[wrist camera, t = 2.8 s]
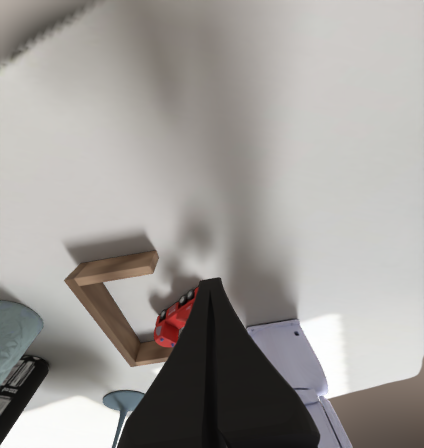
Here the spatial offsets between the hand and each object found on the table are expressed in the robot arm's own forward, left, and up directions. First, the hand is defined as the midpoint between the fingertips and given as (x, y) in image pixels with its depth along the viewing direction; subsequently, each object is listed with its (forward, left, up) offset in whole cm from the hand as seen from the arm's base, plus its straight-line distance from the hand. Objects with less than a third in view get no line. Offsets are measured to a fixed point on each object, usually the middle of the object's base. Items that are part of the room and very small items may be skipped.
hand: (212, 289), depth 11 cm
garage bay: (+12, +13, -10) cm, 20 cm away
